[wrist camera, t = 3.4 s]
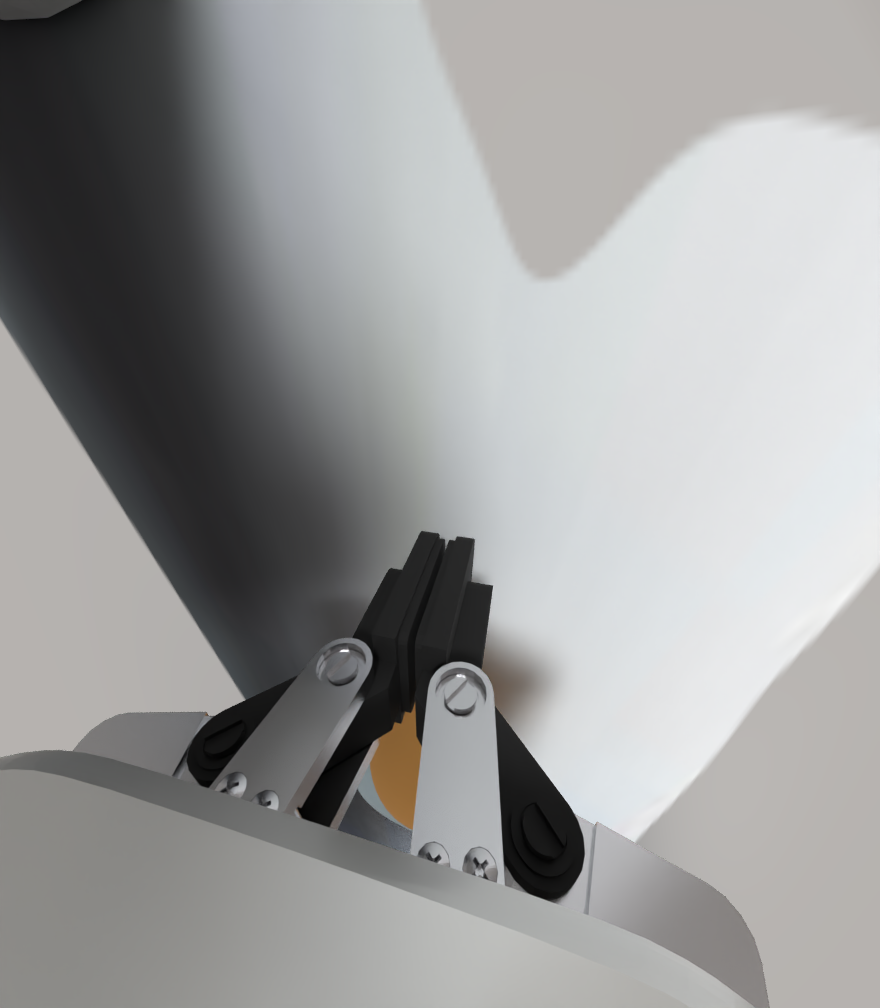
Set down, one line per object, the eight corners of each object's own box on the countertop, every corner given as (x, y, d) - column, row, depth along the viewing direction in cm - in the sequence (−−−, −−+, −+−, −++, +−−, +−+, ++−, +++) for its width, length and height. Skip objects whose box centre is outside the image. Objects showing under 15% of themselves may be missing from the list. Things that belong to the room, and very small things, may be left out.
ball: (391, 640, 16) (337, 774, 12) (509, 664, 16) (499, 821, 11) (397, 704, 19) (355, 832, 15) (496, 728, 18) (485, 874, 14)
